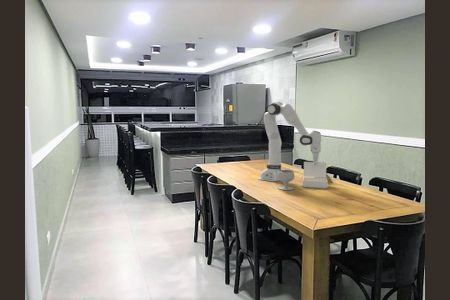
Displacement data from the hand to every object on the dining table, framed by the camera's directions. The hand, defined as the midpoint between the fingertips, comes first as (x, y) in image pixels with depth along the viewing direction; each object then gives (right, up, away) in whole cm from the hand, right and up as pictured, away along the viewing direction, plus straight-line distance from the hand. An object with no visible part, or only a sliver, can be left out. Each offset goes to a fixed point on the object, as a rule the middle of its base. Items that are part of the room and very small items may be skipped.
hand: (315, 165), depth 288 cm
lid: (0, -4, 0) cm, 4 cm away
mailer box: (-2, -18, -7) cm, 19 cm away
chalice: (-29, -19, -18) cm, 39 cm away
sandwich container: (+12, -16, +16) cm, 25 cm away
